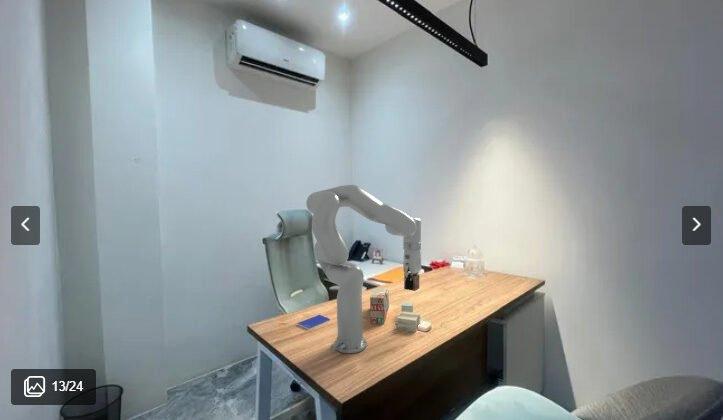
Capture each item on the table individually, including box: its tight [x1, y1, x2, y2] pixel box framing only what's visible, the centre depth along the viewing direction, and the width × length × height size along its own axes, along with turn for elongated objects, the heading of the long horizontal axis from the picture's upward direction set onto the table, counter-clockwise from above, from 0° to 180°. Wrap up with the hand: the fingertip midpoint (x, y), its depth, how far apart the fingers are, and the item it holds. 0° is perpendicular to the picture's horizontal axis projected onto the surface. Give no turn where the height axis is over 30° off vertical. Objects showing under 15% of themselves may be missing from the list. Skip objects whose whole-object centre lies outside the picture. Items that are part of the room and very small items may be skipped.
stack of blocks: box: [369, 288, 390, 325], centre depth 143 cm, size 21×6×12 cm, turn 169°
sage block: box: [401, 301, 414, 313], centre depth 140 cm, size 5×5×6 cm
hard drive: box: [297, 314, 331, 331], centre depth 135 cm, size 2×8×12 cm
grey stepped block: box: [396, 310, 421, 333], centre depth 129 cm, size 8×8×5 cm
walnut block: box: [403, 273, 420, 292], centre depth 130 cm, size 5×5×6 cm
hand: (411, 287), depth 130 cm, fingers closed on walnut block, 5 cm apart
